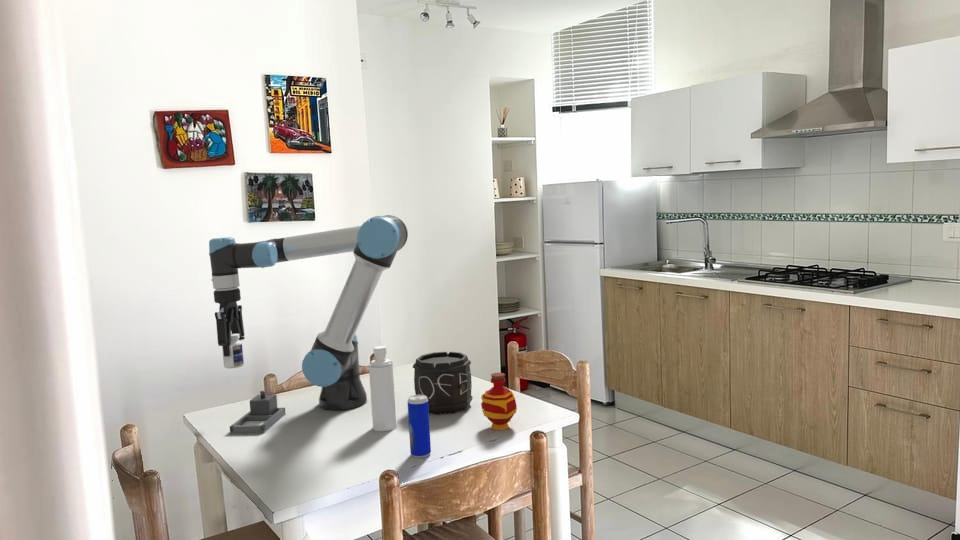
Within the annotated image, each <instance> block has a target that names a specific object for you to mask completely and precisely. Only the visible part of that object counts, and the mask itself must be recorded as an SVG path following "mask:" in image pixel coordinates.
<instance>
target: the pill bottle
mask: <svg viewBox="0 0 960 540" xmlns="http://www.w3.org/2000/svg"><path fill="white" fill-rule="evenodd" d="M239 338H240V336H239V334H236V333H234V334H232V333H231V344H230V345H232V348H233V358H234V366H233V367H225V366H224V365H223V367H224V368H225V369H228V370H230V369H238V368H241V367H243V366H244V365H245V361H244V351H243V342H242V340H241V341H239ZM221 347H222V346H221ZM222 350H223V347H222ZM222 357H223V358H222V360H223V361H224V356H223V355H222Z"/></svg>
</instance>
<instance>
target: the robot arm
mask: <svg viewBox="0 0 960 540" xmlns="http://www.w3.org/2000/svg"><path fill="white" fill-rule="evenodd" d="M408 233H409V232H408V228H407V225H406V224H405V222H404V221H403V220H402V219H401V218H399V217H397V216H395V215H391V214H387V215H375V216H372V217H370V218H368V219H367V220H366V221H364V222H363V223H362V224H361V225H357V226H352V227H345V228H337V229H331V230H326V231H325V230H324V231H318V232H313V233H306V234H305V233H304V234H301V235H292V236H288V237H287V236H286V237H280V238H272V239H267V240H261V241H260V240H259V241H255V242H244V243H237V242H236V238H234V237H233V236H228V237H216V238H211V239H210V240H209V241H208V246H209V247H208V248H209V249H208V250H209V251H208V255H209V260H210V268H211V277H212V278H211V282H212V288H213V299H214V300H213V301H214V303H215V304H219V309H218V310H219V311H218V312H217V311H216V312H214V319H215V321H216V322H215V323H216V335H217V344H218V346H219V347H223V349H222V357H223V356H224V360H223V367H224V366H225V367H233V366H234V358H233V348H232V345H230V344H231V334H234V333H236V334H239V336H240V338H239V341H241V342H242V340H243V341H244V340H245V327H244V321H243V306H242V304H239V305H238V302H239V301H241V299H242V297H241V289H240V288H239V287H240V277H239V269H252V268H253V269H254V268H257V269H258V268H261V269H264V268H269V267H270V268H271V267H274V266H275V265H276V264H278V263H285V262H290V261H297V260H303V259H305V260H306V259H309V258H317V257H318V258H319V257H325V256H330V255H338V254H344V253H351V252H352V253H353V256H354V258H355V261H353V262H354V263H353V265H352V268H351V270H350V271H349V275H348V276H347V278H346V281H345V284H344V285H343V288H342V290H341V293H340V295H339V297H338V300H337V302H336V304H335V307H334V309H333V311H332V314H331V317H330V318H329V321H328V323H327V324H326V327H325V330H324V331H322V332H319V333H318V334H317V335H316V338H315V339H314V342H313V344H312V347H311V349H310V350H309V351H308V352H307V353H306V355H304V357H303V360H302V363H301V370H302V373H303V375H304V377H305V379H306V380H307V381H308V382H309V383H310V384H312V385H314V386H316V387H320V388H321V389H320V394H319V397H318V403H319V404H318V405H319V408H321V409H323V410H328V411H343V410H349V409H355V408H357V407H361V406H363V405H365V404H367V402H368V398H367V395H368V394H367V392H366V390H365V387H364V385H363V383H362V380H361V377H360V374H361V373H360V360H359V359H360V358H359V342H358V336H357V334H356V333H357V331H358V328H359V326H360V324H361V322H362V319H363V317H364V314H365V313H366V310H367V308H368V306H369V303H370V301H371V299H372V296H373V295H374V292H375V290H376V287H377V285H378V282H379V280H380V279H381V276H382V273H383V272H384V271H385V270H389V269H390V268H391V266H392V264H393V261H394V260H395V257H396V255H397V254H398V251H400V250H402V249H403V247H405V245H406V243H407V241H408V237H409V234H408ZM225 367H224V368H225Z"/></svg>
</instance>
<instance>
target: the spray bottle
mask: <svg viewBox="0 0 960 540" xmlns="http://www.w3.org/2000/svg"><path fill="white" fill-rule="evenodd" d="M372 351H373V355H374V359H372V360H371V361H370V362H369V363H368V369H369V370H368V372H369V384H370V385H369V387H370V403H371V405H370V406H371V417H372V420H371V421H372V429H373V430H374V431H376V432H389V431H393V430H394V429H396V428H397V412H396V400H395V399H396V395H395V381H394V379H395V378H394V367H393V365H394V364H393V361H391V360H390V359H389V358H387V357H386V355H387V346H385V345H378V346H374V347H373V350H372Z"/></svg>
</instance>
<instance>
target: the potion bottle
mask: <svg viewBox="0 0 960 540" xmlns="http://www.w3.org/2000/svg"><path fill="white" fill-rule="evenodd" d="M490 376H491V378H490V383H491V384H493V386H492V387H491V388H489V389H488V390H486V391H485V392H484V393H483V394H482V395H481V401H482V402H481V403H480V405H481V406H480V407H481V411H482V413H483V416H484V417H486V418H487V419H488V420H489V421H490V422H491V425H490V427H491V429H492V430H496V431H500V430H501V431H502V430H506V429H508V428H510V424H509V422H511V419H512V418H513V417H514V415H515V414H517V410H518V407H517V402H516V398H515V394H514V393H513V391H512V390H510V389H509V388H508V387H507V386H505V385H504V383H506V378H505V377H506V374H505V373H503V372H493V373H491V374H490Z"/></svg>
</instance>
